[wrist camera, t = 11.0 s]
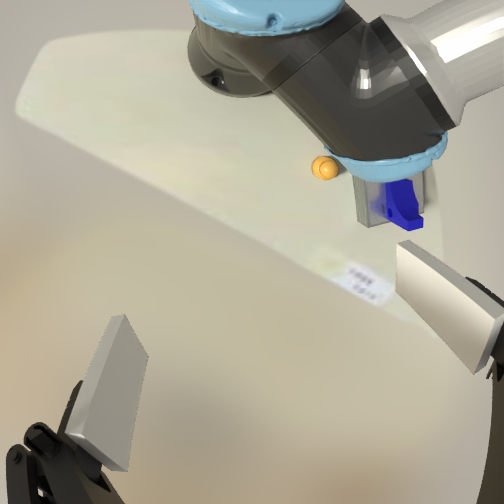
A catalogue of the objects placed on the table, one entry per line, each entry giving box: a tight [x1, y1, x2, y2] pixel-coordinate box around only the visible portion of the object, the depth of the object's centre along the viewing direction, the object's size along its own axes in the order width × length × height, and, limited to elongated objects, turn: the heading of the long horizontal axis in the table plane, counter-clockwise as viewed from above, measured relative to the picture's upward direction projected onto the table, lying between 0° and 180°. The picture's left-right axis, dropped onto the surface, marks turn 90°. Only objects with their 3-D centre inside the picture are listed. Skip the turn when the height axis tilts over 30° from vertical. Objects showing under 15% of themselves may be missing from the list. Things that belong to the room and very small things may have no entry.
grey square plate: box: [352, 171, 424, 228], centre depth 38 cm, size 14×12×9 cm
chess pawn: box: [311, 156, 338, 180], centre depth 39 cm, size 3×3×4 cm
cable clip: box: [385, 179, 423, 231], centre depth 36 cm, size 12×4×6 cm, turn 11°
